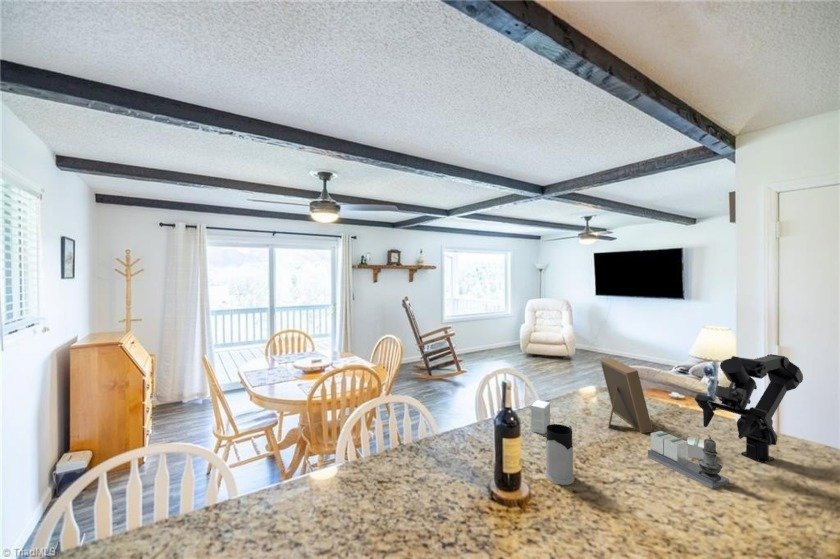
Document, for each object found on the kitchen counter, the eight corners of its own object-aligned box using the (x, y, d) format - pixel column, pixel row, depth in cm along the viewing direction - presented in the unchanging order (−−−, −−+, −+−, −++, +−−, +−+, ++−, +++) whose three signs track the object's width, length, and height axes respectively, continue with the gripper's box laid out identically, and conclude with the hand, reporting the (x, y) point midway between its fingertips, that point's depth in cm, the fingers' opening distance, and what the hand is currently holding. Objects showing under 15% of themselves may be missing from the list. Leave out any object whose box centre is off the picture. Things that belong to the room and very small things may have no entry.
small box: (537, 424, 153) (536, 399, 153) (550, 427, 150) (550, 402, 150) (530, 431, 147) (530, 405, 147) (544, 434, 144) (544, 408, 143)
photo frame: (622, 412, 165) (622, 357, 165) (652, 433, 144) (651, 370, 143) (589, 412, 165) (589, 358, 165) (614, 434, 144) (613, 371, 143)
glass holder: (539, 477, 114) (539, 429, 114) (558, 459, 124) (558, 416, 124) (568, 488, 108) (567, 437, 108) (585, 469, 118) (584, 423, 118)
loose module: (688, 449, 131) (688, 435, 131) (706, 453, 128) (706, 439, 128) (686, 456, 126) (686, 442, 126) (704, 461, 123) (704, 447, 122)
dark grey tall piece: (724, 482, 108) (724, 442, 107) (699, 477, 110) (699, 438, 110) (719, 473, 113) (719, 434, 113) (696, 468, 116) (696, 430, 115)
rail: (664, 452, 128) (664, 428, 128) (729, 482, 110) (729, 454, 109) (647, 457, 125) (647, 432, 125) (712, 488, 107) (712, 460, 107)
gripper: (697, 369, 125) (678, 407, 120) (768, 384, 108) (749, 429, 103) (710, 389, 128) (692, 426, 124) (780, 406, 112) (762, 450, 107)
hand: (721, 432), depth 114 cm, fingers open, 9 cm apart
